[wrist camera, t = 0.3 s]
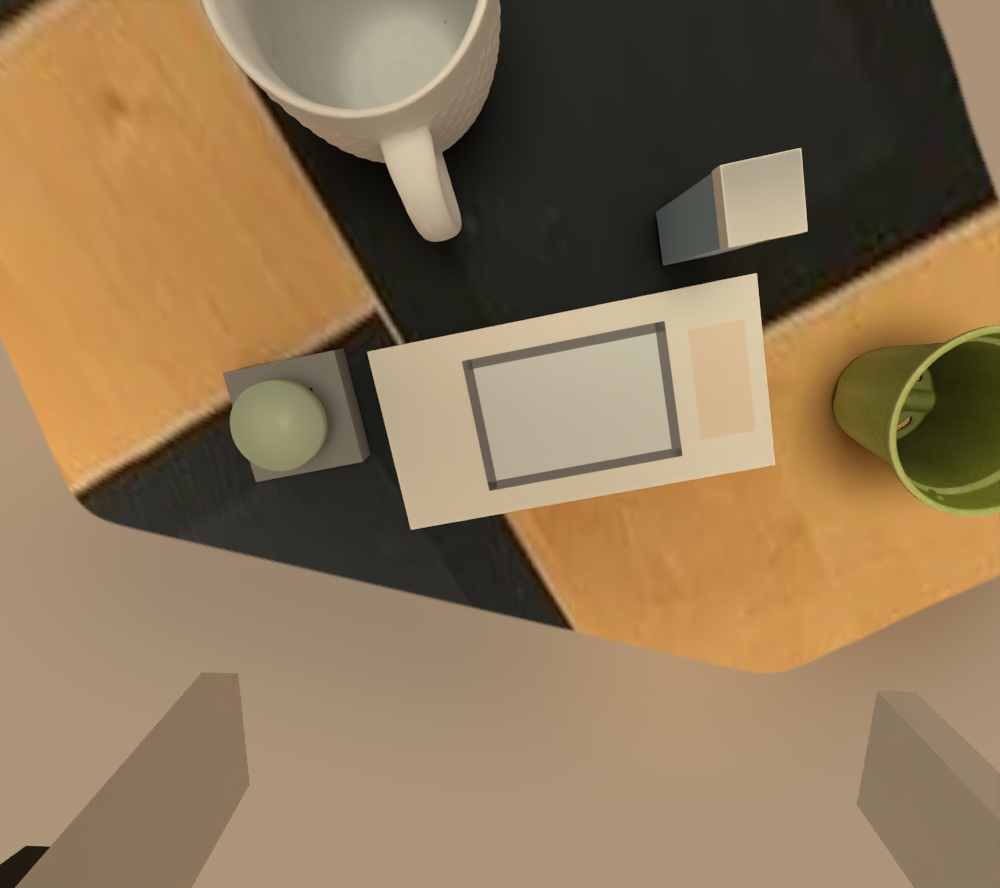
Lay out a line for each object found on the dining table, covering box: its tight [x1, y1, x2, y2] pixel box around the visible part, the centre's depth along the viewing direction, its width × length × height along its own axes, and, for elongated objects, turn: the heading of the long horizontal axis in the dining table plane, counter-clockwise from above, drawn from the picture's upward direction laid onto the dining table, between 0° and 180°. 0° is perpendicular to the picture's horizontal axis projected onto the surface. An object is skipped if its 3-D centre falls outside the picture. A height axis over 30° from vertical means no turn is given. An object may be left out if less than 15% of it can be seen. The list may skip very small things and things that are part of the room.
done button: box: [230, 379, 328, 471], centre depth 35 cm, size 5×5×4 cm
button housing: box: [223, 348, 371, 482], centre depth 37 cm, size 7×7×2 cm
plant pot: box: [833, 325, 1000, 516], centre depth 32 cm, size 9×9×9 cm
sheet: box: [367, 273, 775, 530], centre depth 37 cm, size 12×24×1 cm, turn 101°
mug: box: [201, 0, 501, 242], centre depth 27 cm, size 15×11×13 cm
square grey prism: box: [656, 148, 808, 266], centre depth 29 cm, size 3×3×12 cm
